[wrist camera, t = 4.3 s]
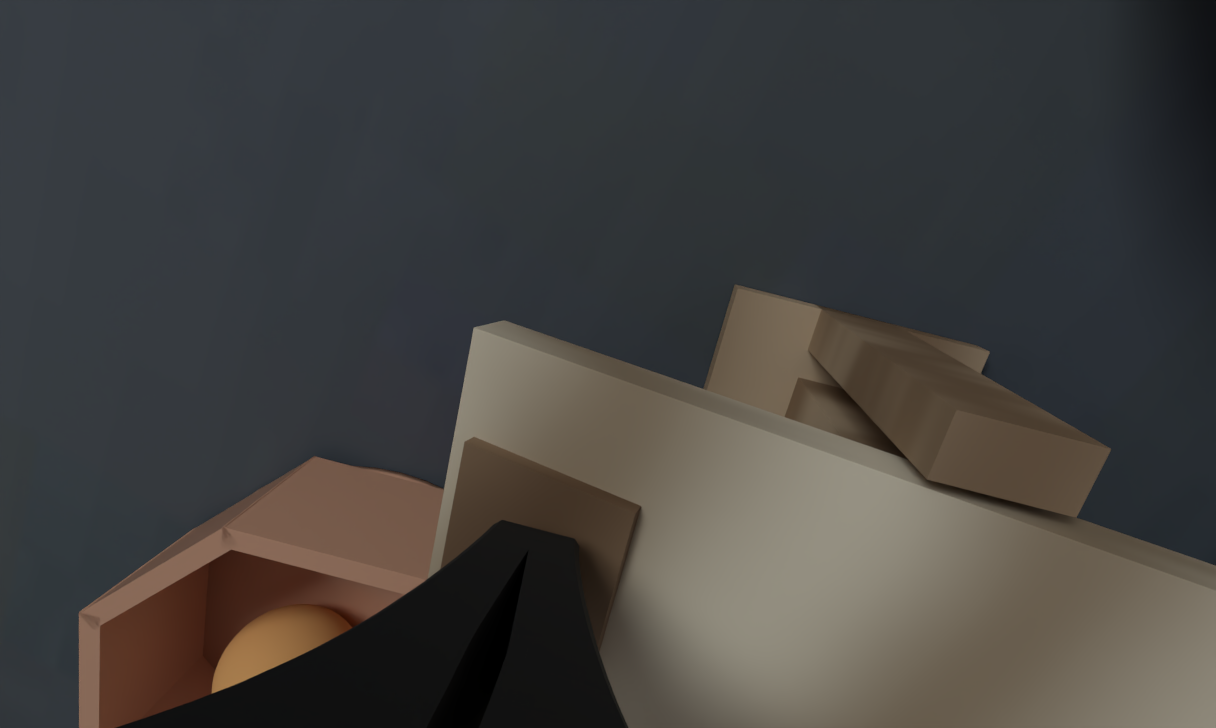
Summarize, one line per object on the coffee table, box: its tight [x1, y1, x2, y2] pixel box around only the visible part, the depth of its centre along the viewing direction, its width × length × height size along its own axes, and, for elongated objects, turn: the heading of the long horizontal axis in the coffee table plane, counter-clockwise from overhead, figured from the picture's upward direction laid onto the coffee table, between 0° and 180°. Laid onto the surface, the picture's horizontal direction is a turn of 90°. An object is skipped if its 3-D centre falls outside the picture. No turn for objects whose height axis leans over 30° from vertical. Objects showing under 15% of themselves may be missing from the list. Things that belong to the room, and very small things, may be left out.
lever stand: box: [704, 285, 1111, 517], centre depth 14 cm, size 6×17×8 cm, turn 166°
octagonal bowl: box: [79, 456, 444, 728], centre depth 17 cm, size 11×11×4 cm
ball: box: [211, 604, 352, 694], centre depth 17 cm, size 4×4×4 cm
